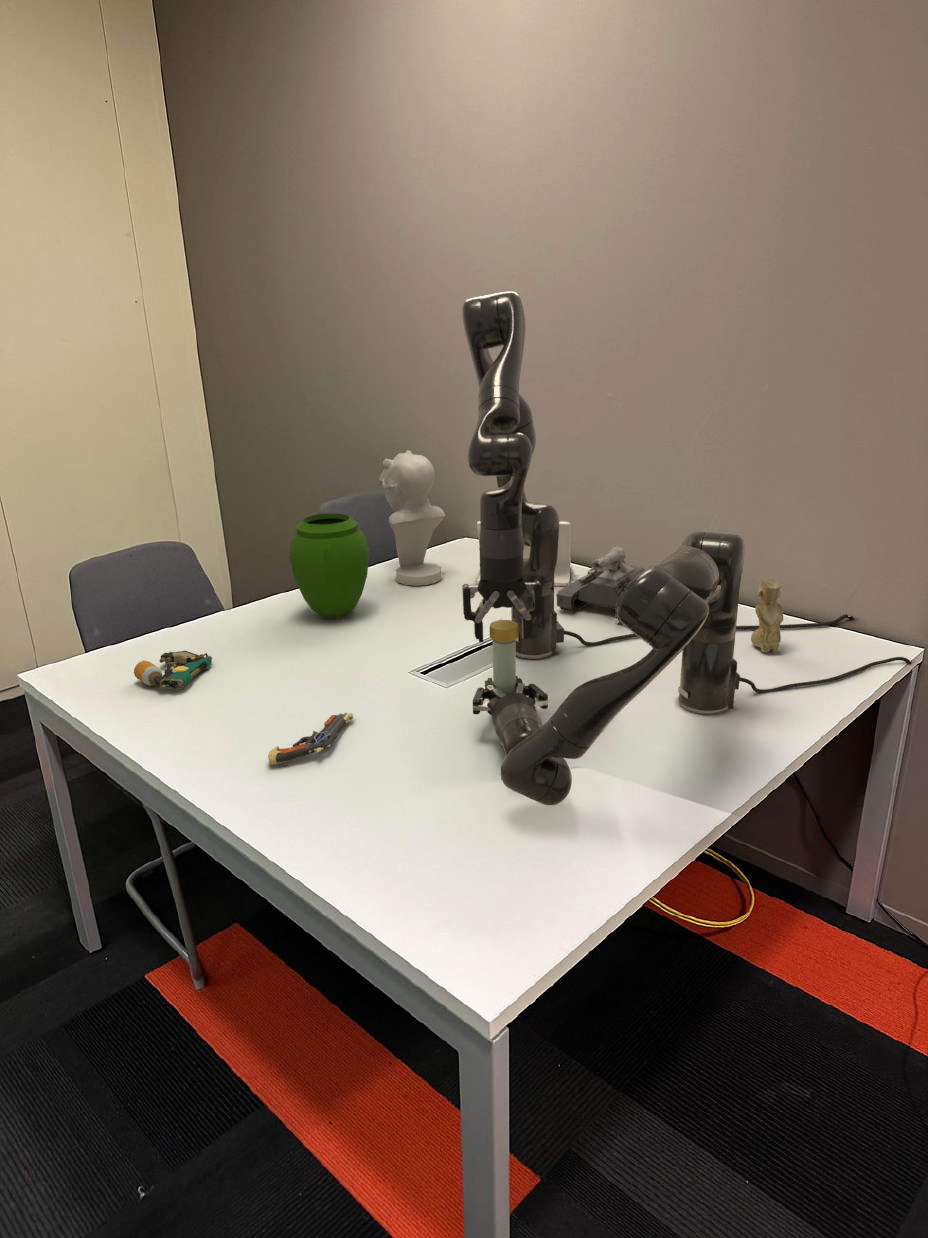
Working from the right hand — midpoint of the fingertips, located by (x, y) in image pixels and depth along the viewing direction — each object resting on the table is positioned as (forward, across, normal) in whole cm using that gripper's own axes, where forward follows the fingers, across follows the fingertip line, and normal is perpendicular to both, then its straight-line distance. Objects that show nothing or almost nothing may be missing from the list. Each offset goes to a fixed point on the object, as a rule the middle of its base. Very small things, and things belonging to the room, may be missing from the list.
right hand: (502, 681), depth 158 cm
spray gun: (+28, +65, +6) cm, 71 cm away
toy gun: (-6, +35, +7) cm, 36 cm away
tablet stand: (+82, -19, +7) cm, 85 cm away
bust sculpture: (+87, +13, +7) cm, 89 cm away
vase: (+61, +33, +7) cm, 69 cm away
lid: (-3, 0, -12) cm, 12 cm away
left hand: (-3, 0, -10) cm, 10 cm away
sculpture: (+21, -61, +7) cm, 65 cm away
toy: (+54, -37, +7) cm, 66 cm away
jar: (-3, 0, +7) cm, 7 cm away
